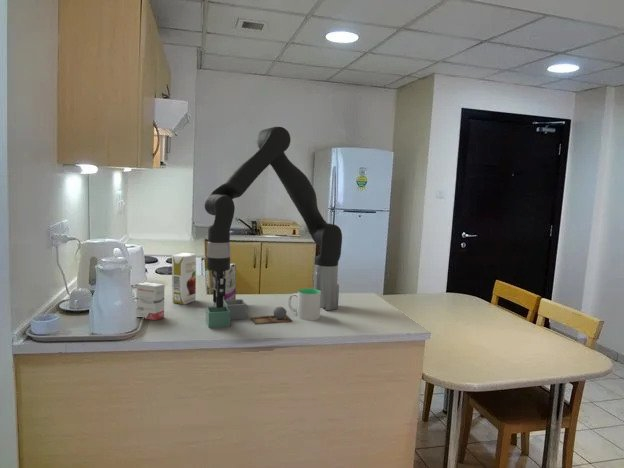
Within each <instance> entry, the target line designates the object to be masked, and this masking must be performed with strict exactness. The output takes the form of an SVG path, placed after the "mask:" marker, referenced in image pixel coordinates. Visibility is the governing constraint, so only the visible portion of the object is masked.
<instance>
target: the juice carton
mask: <svg viewBox="0 0 624 468" xmlns="http://www.w3.org/2000/svg"><path fill="white" fill-rule="evenodd" d="M196 280H197V257H196V253H192V252H191V253H190V252H181V253H179V254H178V253H177V254H172V255H171V302H172V303H174V304H179V305H187V304H190V303H192V302H193V303H194V302H195V301H196V298H197V297H196V294H197V290H196V289H197V286H196V284H197V283H196V282H197V281H196Z"/></svg>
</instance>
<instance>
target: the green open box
mask: <svg viewBox="0 0 624 468" xmlns="http://www.w3.org/2000/svg"><path fill="white" fill-rule="evenodd" d="M205 323H206V325H207V328H208V329H212V328H214V329H215V328H226V327H231V319H230V310H229V309H228V307H227V306H223V307H222V308H217V307H214V306H206V307H205Z"/></svg>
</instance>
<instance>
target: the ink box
mask: <svg viewBox="0 0 624 468" xmlns="http://www.w3.org/2000/svg"><path fill="white" fill-rule="evenodd" d="M135 299H136V306H137V314H138V315H139V316H143V317H145V319H144V320H153V321H157V320H160V319H162V318H164V317H165V284H162V283H153V282H148V281H145V282H140V283H137V284H136V298H135Z"/></svg>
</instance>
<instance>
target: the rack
mask: <svg viewBox="0 0 624 468" xmlns="http://www.w3.org/2000/svg"><path fill="white" fill-rule="evenodd" d="M250 320H251V321H252V322H253V324H254V325H255V326H257V325H265V324H266V325H268V324H278V323H279V324H282V323H292V322H293V319H292V318H290V316H288V315H287V314H286V316H285V318H284V319H281V320H278V319H276V318H275V317H274V314H273V315H261V316H250Z"/></svg>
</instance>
